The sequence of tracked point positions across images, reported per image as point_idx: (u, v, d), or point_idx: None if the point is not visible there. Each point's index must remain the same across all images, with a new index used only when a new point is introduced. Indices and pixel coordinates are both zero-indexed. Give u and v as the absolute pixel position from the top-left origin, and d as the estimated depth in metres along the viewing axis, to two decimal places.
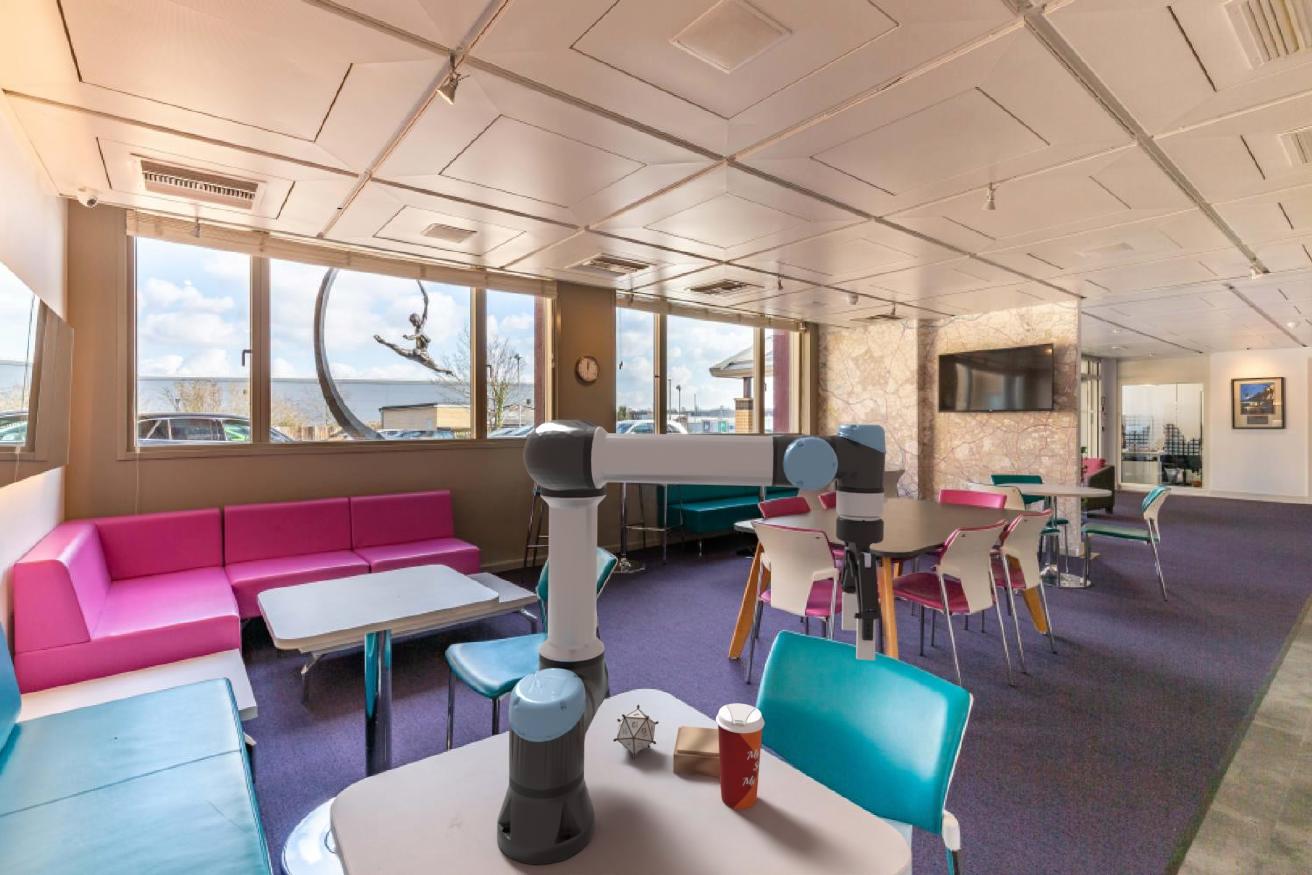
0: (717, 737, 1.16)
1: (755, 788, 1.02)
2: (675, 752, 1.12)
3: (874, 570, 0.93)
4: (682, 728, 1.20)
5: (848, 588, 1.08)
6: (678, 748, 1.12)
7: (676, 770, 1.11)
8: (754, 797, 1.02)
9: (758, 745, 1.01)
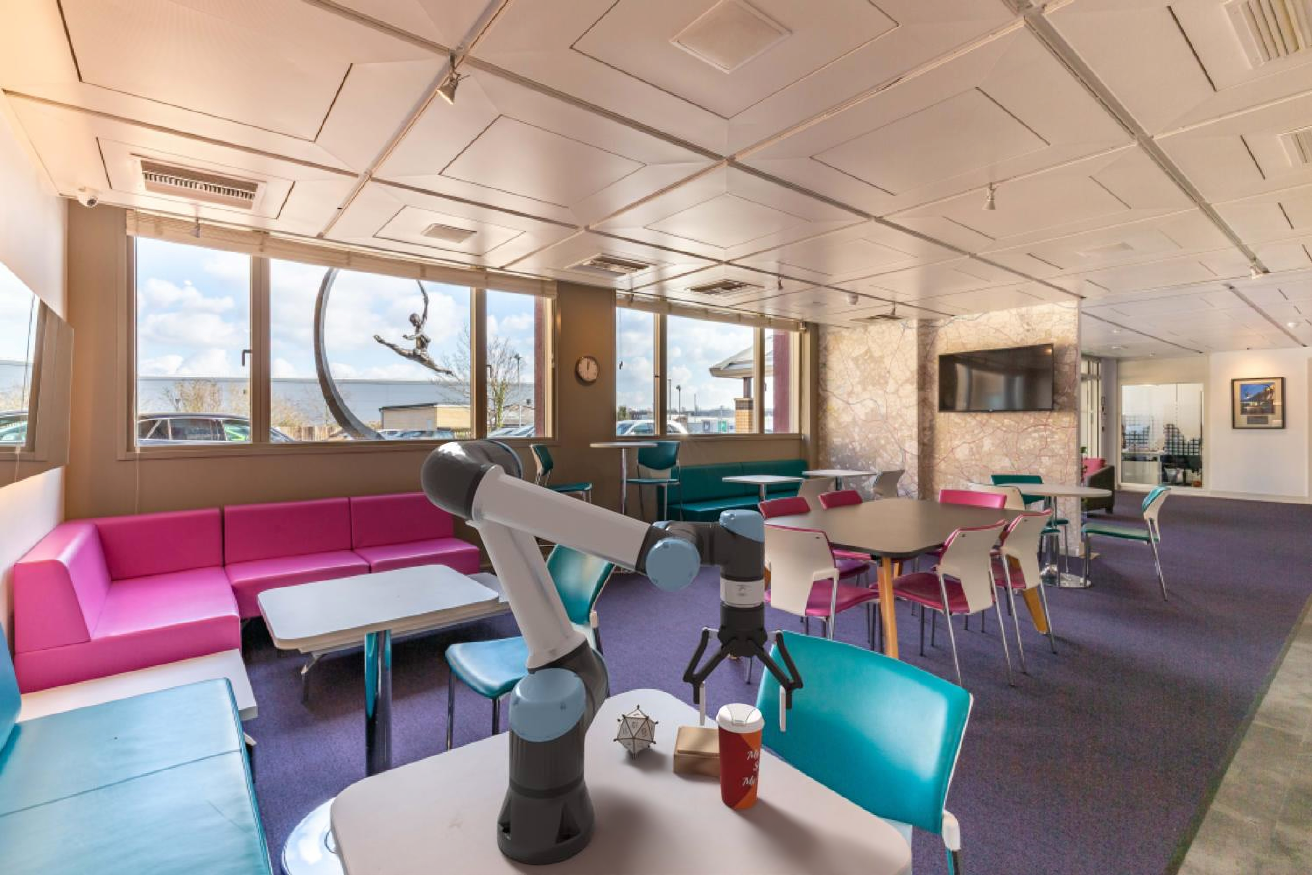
0: (717, 737, 1.16)
1: (755, 788, 1.02)
2: (675, 752, 1.12)
3: (700, 643, 1.03)
4: (682, 728, 1.20)
5: None
6: (678, 748, 1.12)
7: (676, 770, 1.11)
8: (754, 797, 1.02)
9: (758, 745, 1.01)
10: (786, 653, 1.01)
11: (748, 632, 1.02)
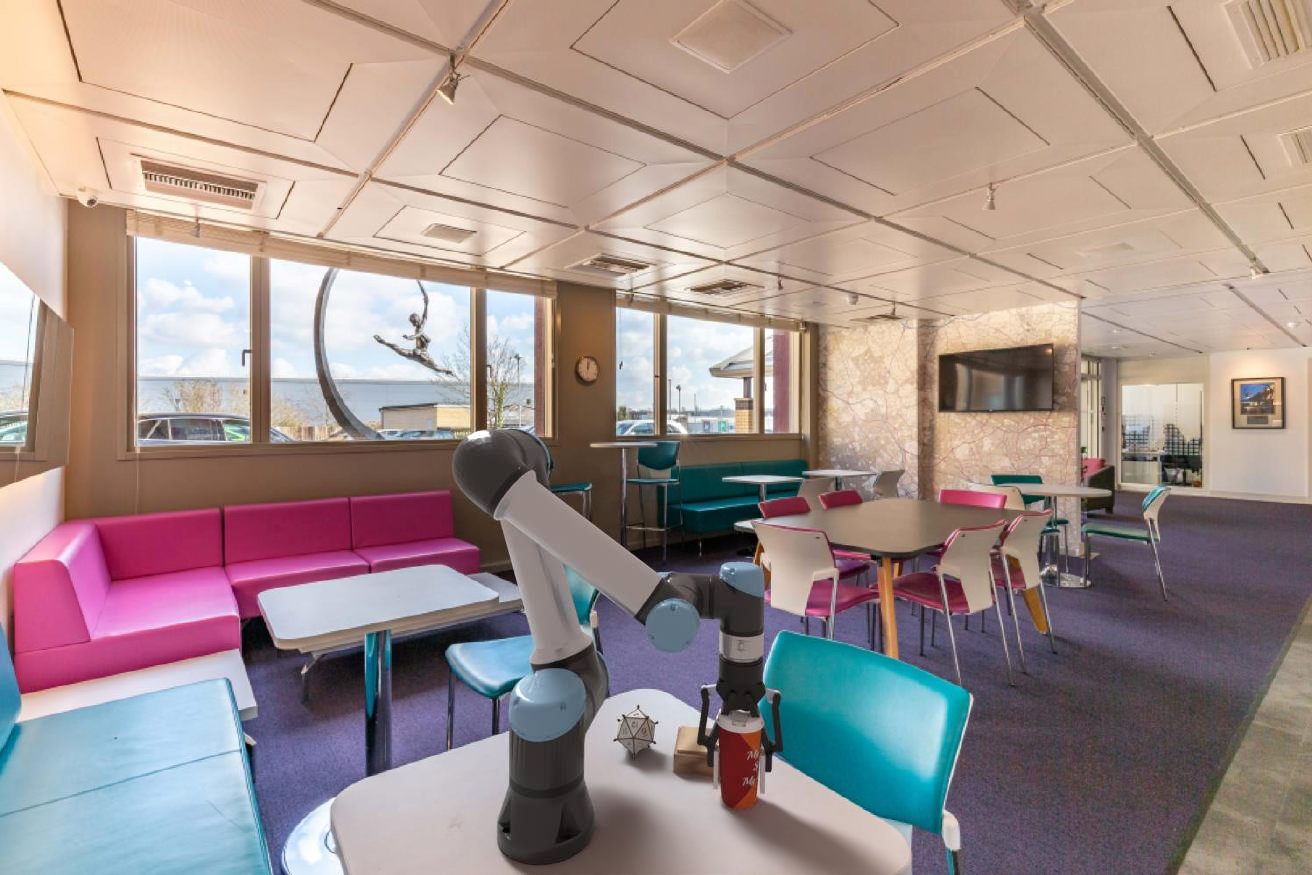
0: None
1: (755, 788, 1.02)
2: (675, 752, 1.12)
3: (702, 703, 1.03)
4: (682, 728, 1.20)
5: None
6: (678, 748, 1.12)
7: (676, 770, 1.11)
8: (754, 797, 1.02)
9: (758, 745, 1.01)
10: (778, 715, 1.02)
11: None
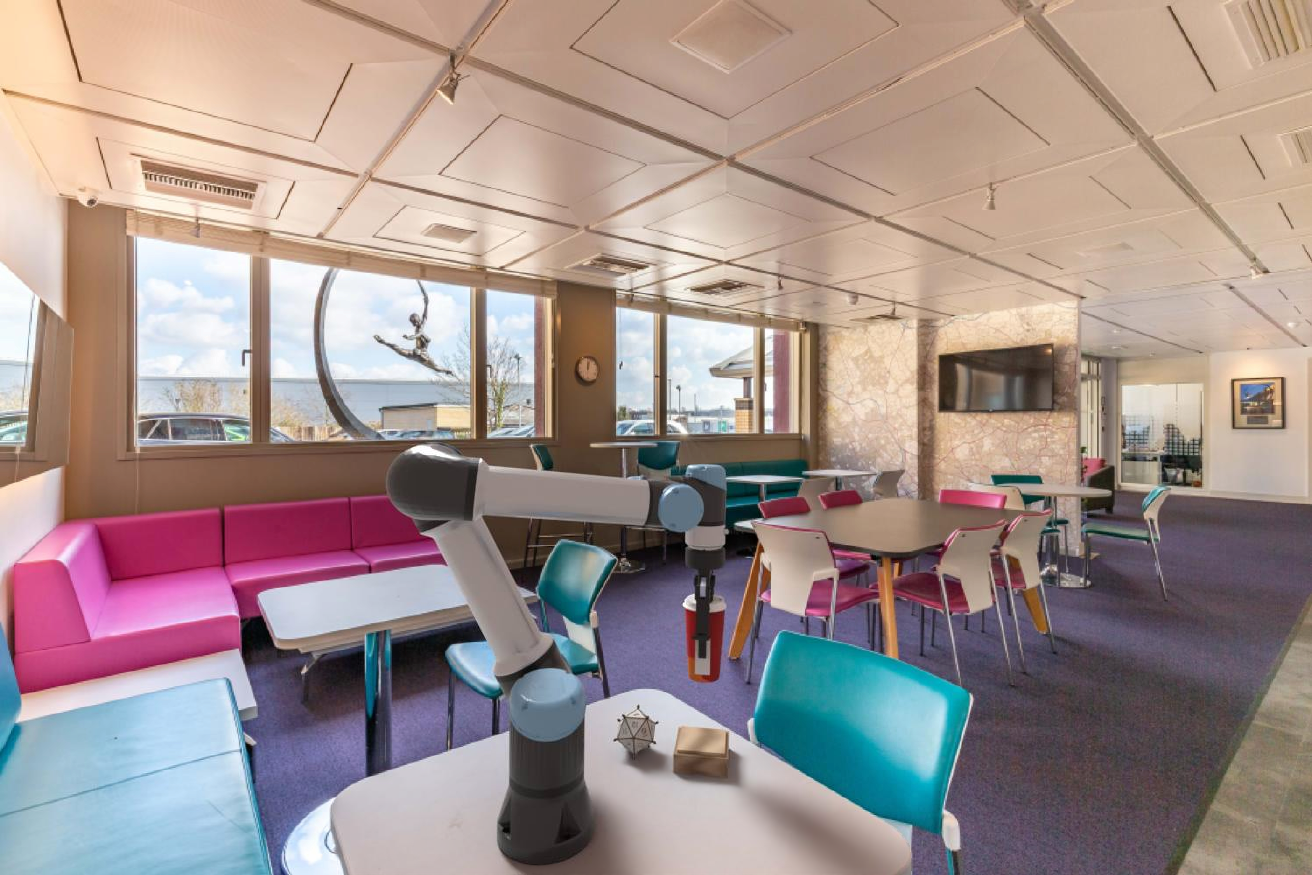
0: (717, 737, 1.16)
1: None
2: (675, 752, 1.12)
3: (708, 600, 1.09)
4: (682, 728, 1.20)
5: None
6: (678, 748, 1.12)
7: (676, 770, 1.11)
8: None
9: None
10: None
11: None
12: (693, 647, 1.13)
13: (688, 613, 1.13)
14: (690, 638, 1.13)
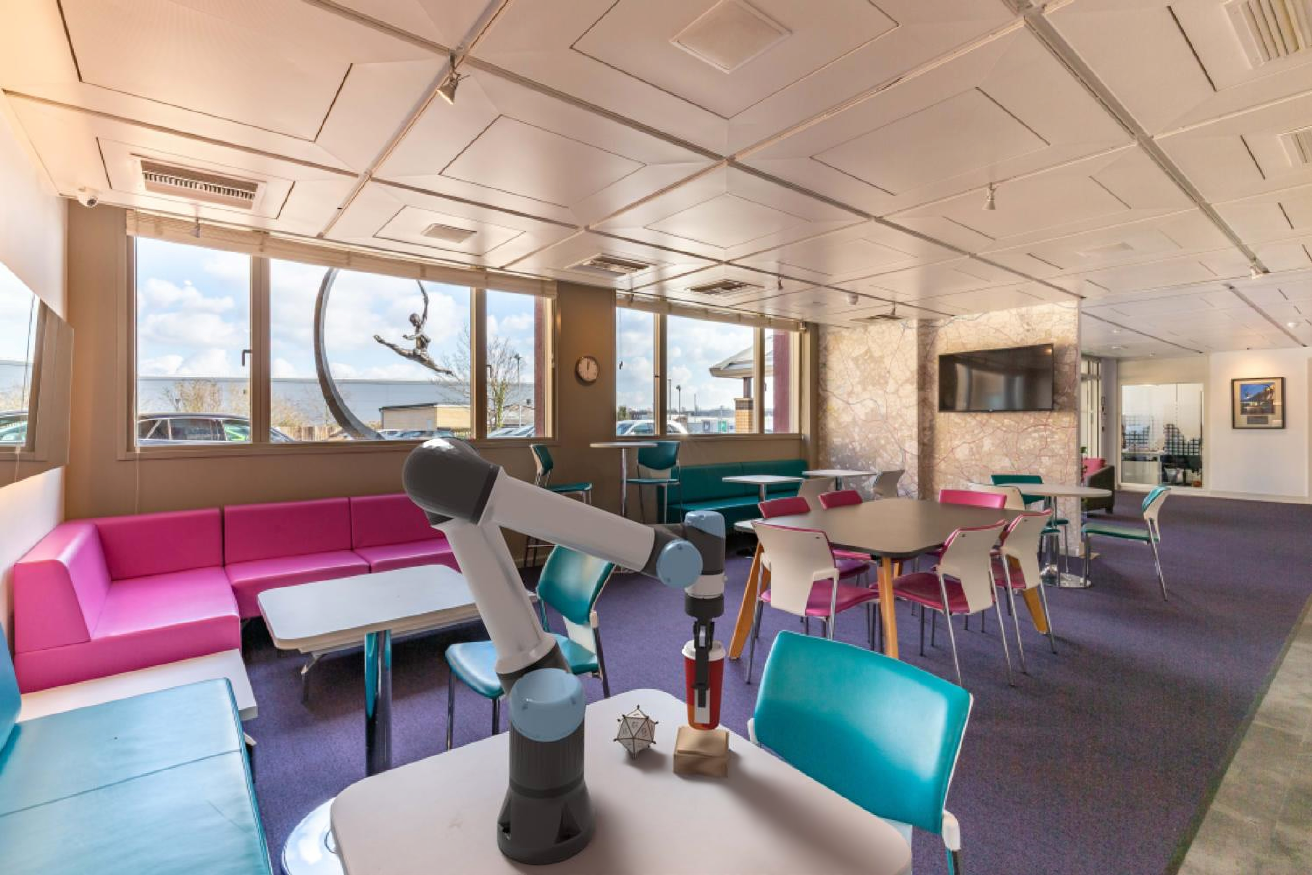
0: (717, 737, 1.16)
1: None
2: (675, 752, 1.12)
3: (707, 649, 1.09)
4: (682, 728, 1.20)
5: None
6: (678, 748, 1.12)
7: (676, 770, 1.11)
8: None
9: None
10: None
11: None
12: (693, 695, 1.13)
13: (687, 661, 1.13)
14: (690, 686, 1.13)
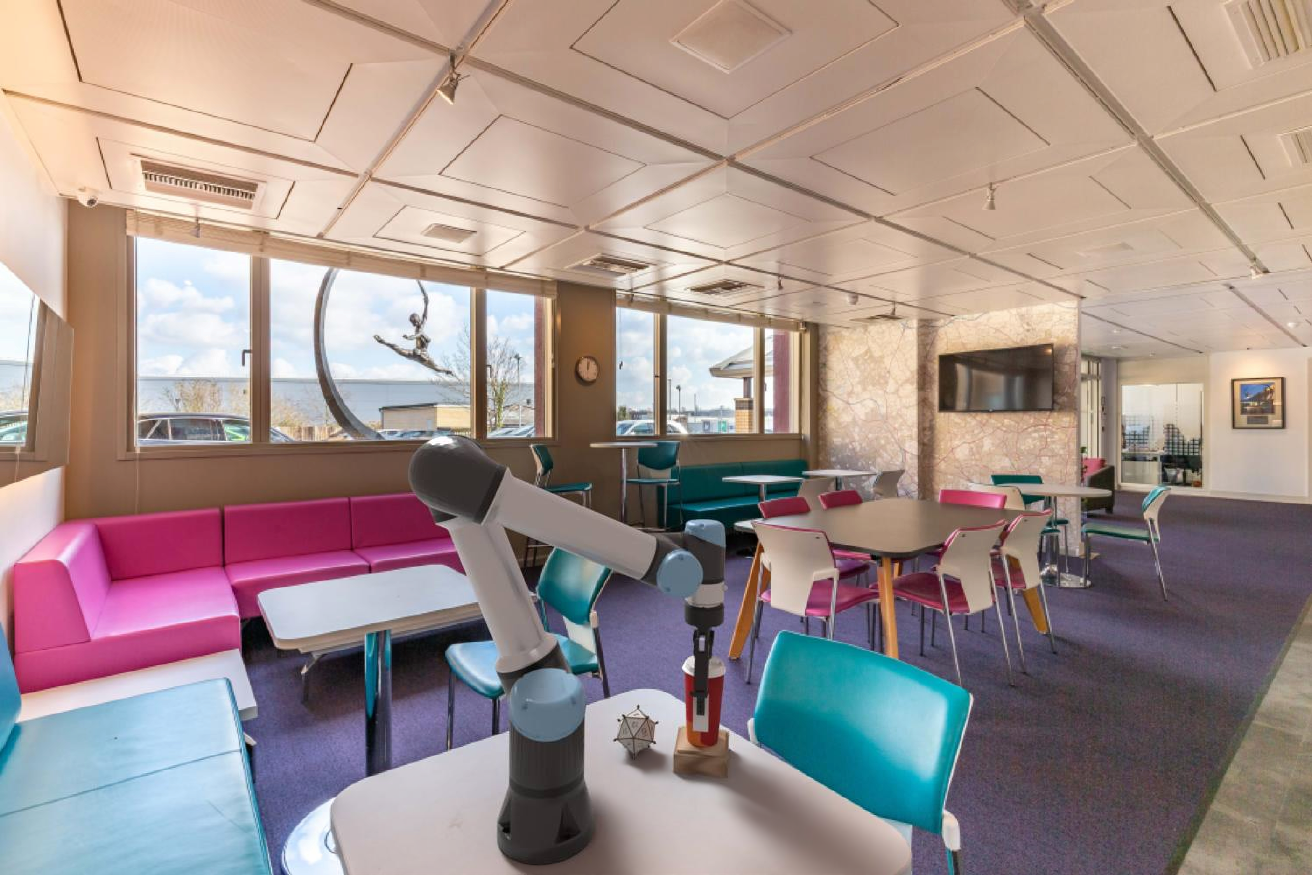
0: None
1: None
2: (675, 752, 1.12)
3: (707, 654, 1.08)
4: (682, 728, 1.20)
5: None
6: (678, 748, 1.12)
7: (676, 770, 1.11)
8: None
9: None
10: None
11: None
12: (692, 712, 1.13)
13: (687, 677, 1.14)
14: (689, 702, 1.13)
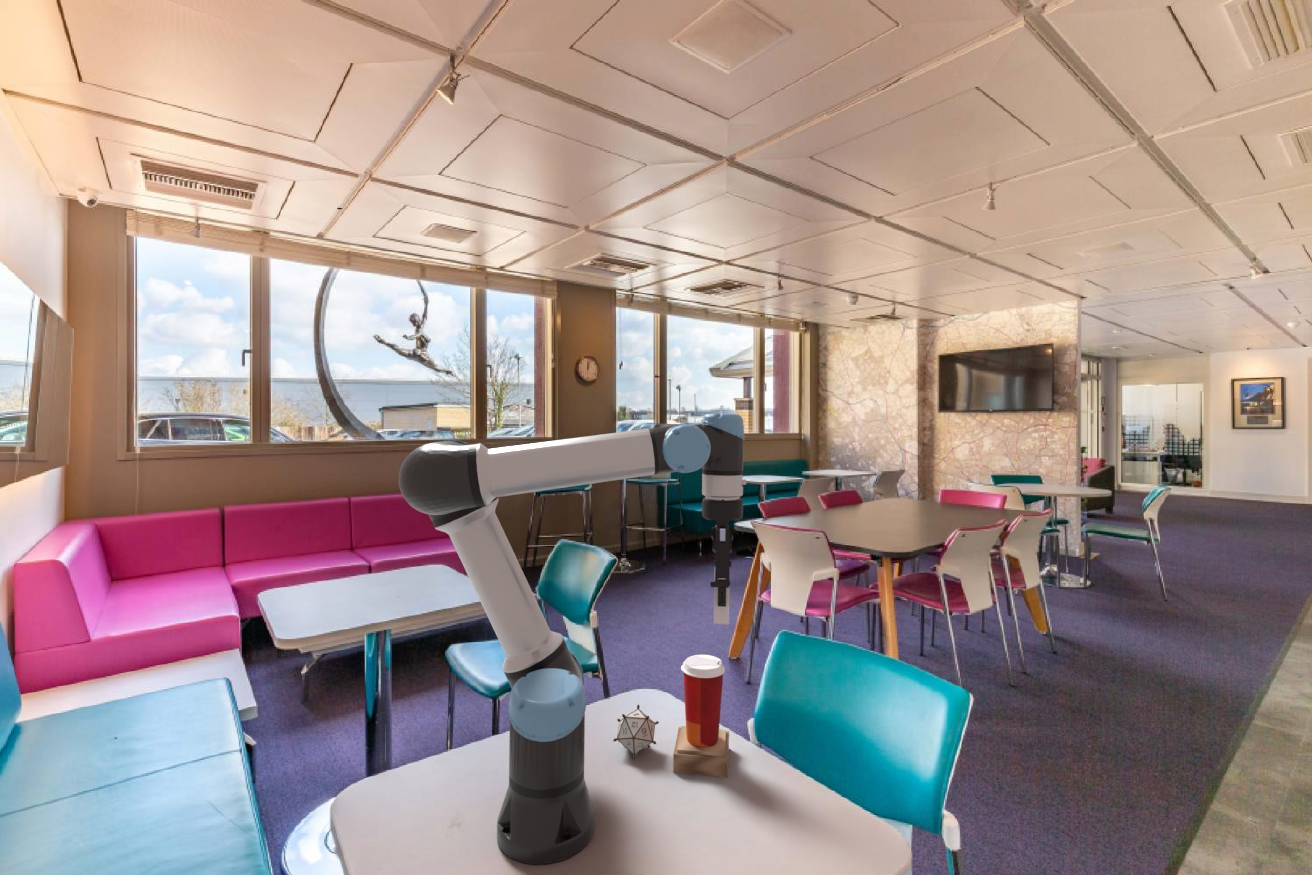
0: None
1: None
2: (675, 752, 1.12)
3: (728, 544, 1.05)
4: (682, 728, 1.20)
5: None
6: (678, 748, 1.12)
7: (676, 770, 1.11)
8: None
9: None
10: None
11: None
12: (692, 712, 1.13)
13: (686, 677, 1.14)
14: (688, 702, 1.13)
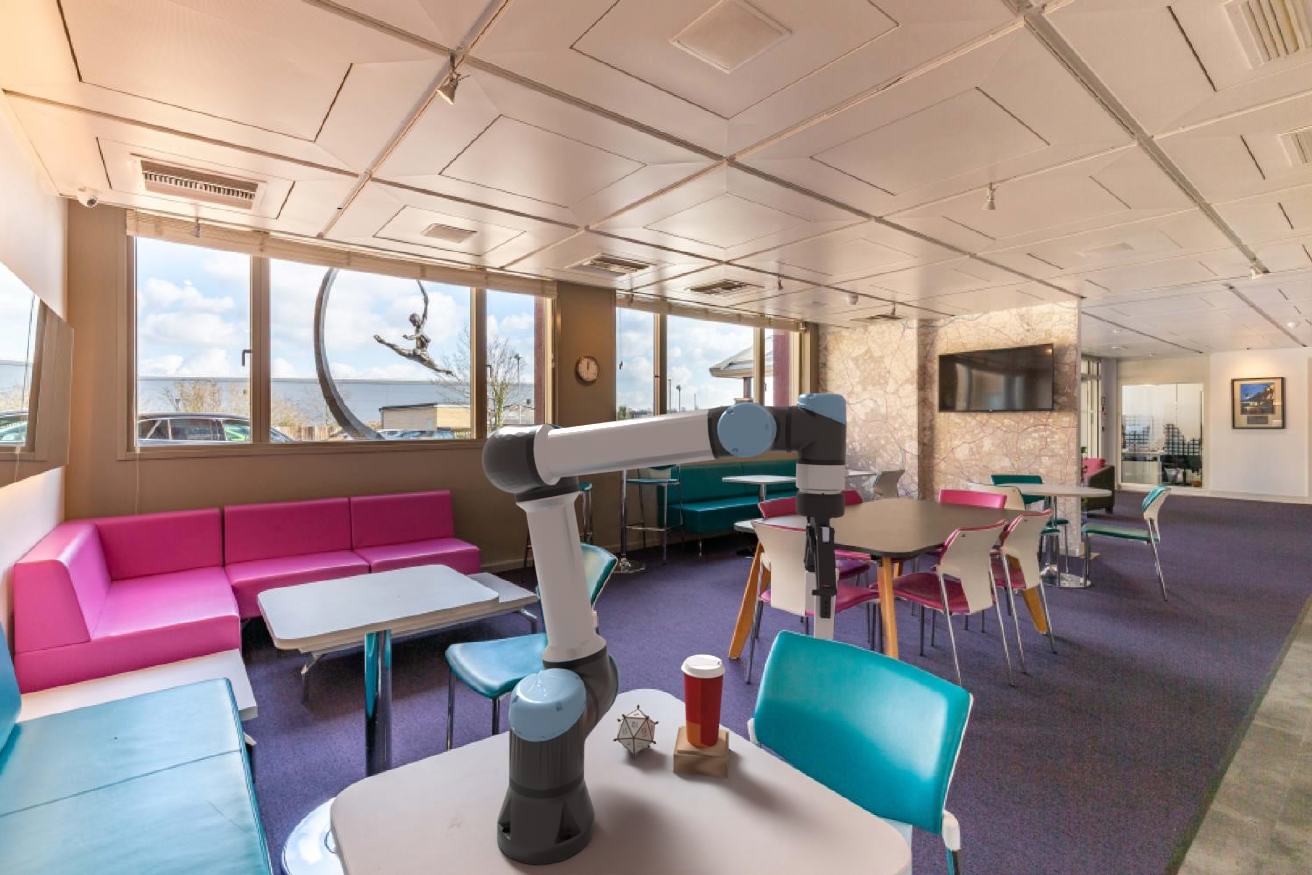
0: None
1: None
2: (675, 752, 1.12)
3: (832, 545, 0.89)
4: (682, 728, 1.20)
5: (811, 567, 1.04)
6: (678, 748, 1.12)
7: (676, 770, 1.11)
8: None
9: None
10: None
11: None
12: (692, 712, 1.13)
13: (686, 677, 1.14)
14: (689, 702, 1.13)
